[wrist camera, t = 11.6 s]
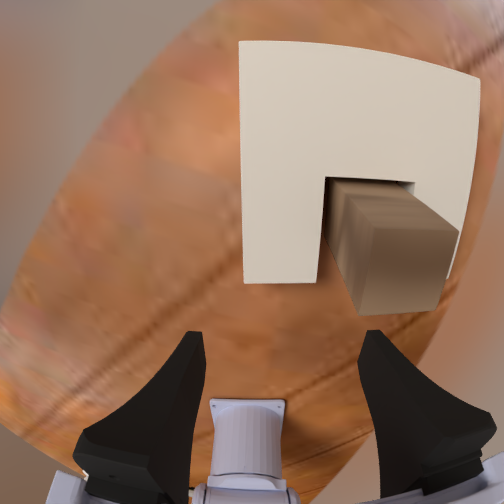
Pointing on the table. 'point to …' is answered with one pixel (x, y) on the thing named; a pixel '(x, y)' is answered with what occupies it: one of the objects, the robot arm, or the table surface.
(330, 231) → the peg
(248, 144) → the socket block
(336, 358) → the table surface
